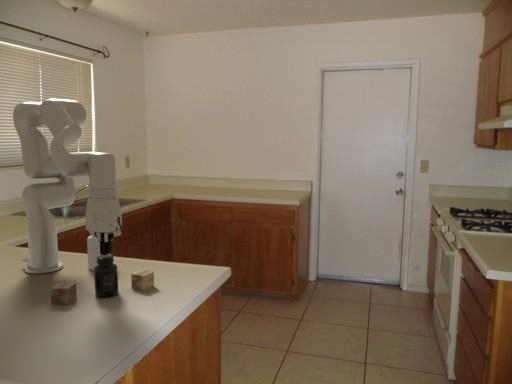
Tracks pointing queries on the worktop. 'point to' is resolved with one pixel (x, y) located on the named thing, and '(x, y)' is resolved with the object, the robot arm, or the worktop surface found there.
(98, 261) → the supplement bottle
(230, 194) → the worktop surface
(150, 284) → the maple block
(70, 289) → the walnut block
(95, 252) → the pill bottle
